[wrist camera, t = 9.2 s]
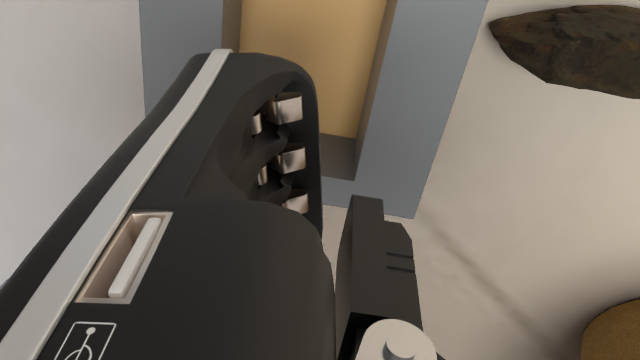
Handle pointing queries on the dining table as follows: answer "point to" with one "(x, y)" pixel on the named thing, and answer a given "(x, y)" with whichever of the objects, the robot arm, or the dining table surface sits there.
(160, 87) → the dock
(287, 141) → the battery charger
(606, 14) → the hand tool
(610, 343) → the plant pot
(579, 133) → the dining table surface
